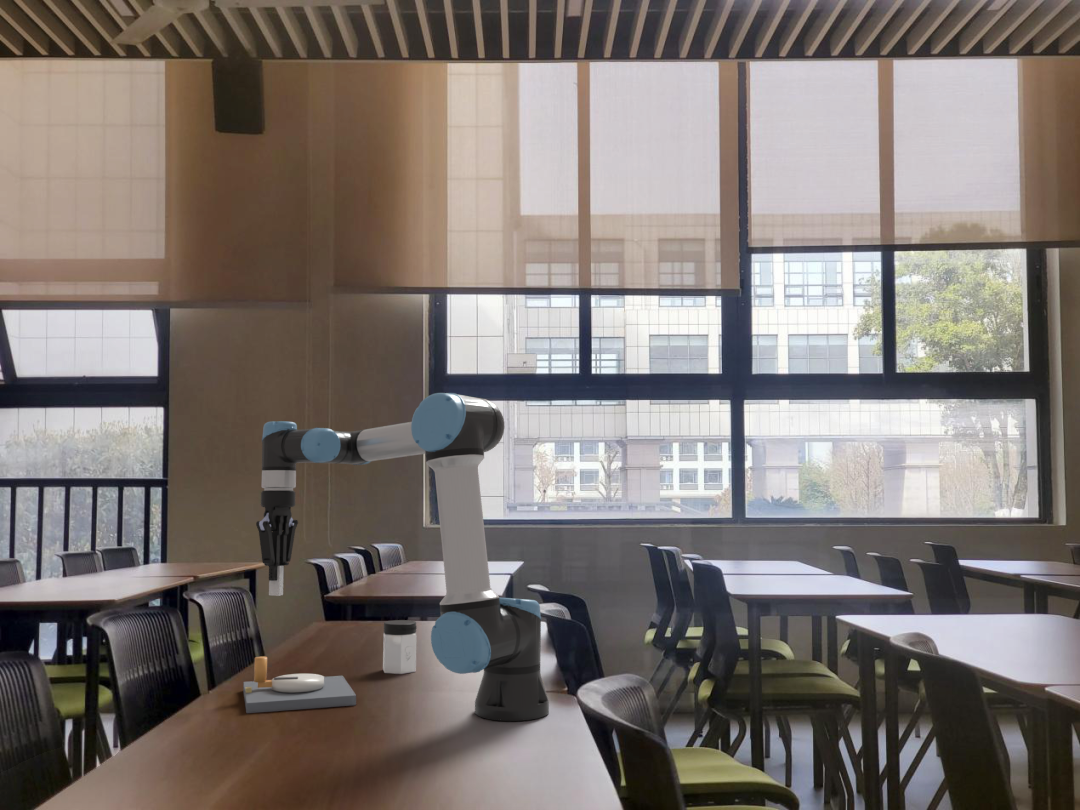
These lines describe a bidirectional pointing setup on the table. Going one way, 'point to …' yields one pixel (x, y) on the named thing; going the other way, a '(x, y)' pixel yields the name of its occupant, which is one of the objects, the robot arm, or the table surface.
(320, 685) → the dial
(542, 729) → the table surface
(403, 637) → the jar
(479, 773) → the table surface
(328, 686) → the panel
